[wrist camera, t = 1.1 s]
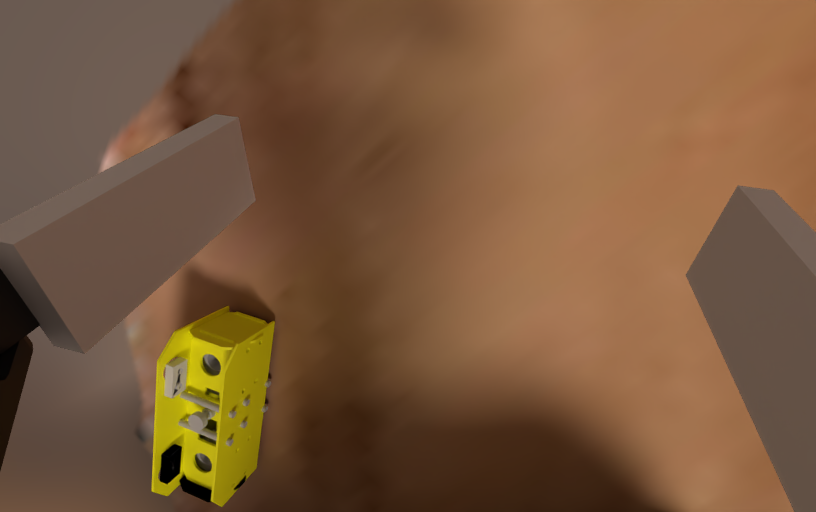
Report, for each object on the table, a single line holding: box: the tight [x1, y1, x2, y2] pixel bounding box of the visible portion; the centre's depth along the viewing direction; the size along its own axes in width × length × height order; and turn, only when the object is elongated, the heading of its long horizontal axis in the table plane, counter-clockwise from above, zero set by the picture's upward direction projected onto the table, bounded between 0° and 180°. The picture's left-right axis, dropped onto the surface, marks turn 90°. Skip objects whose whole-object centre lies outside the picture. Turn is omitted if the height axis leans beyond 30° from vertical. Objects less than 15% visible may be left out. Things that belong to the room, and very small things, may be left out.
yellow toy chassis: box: [152, 306, 275, 507], centre depth 36 cm, size 16×6×8 cm, turn 168°
